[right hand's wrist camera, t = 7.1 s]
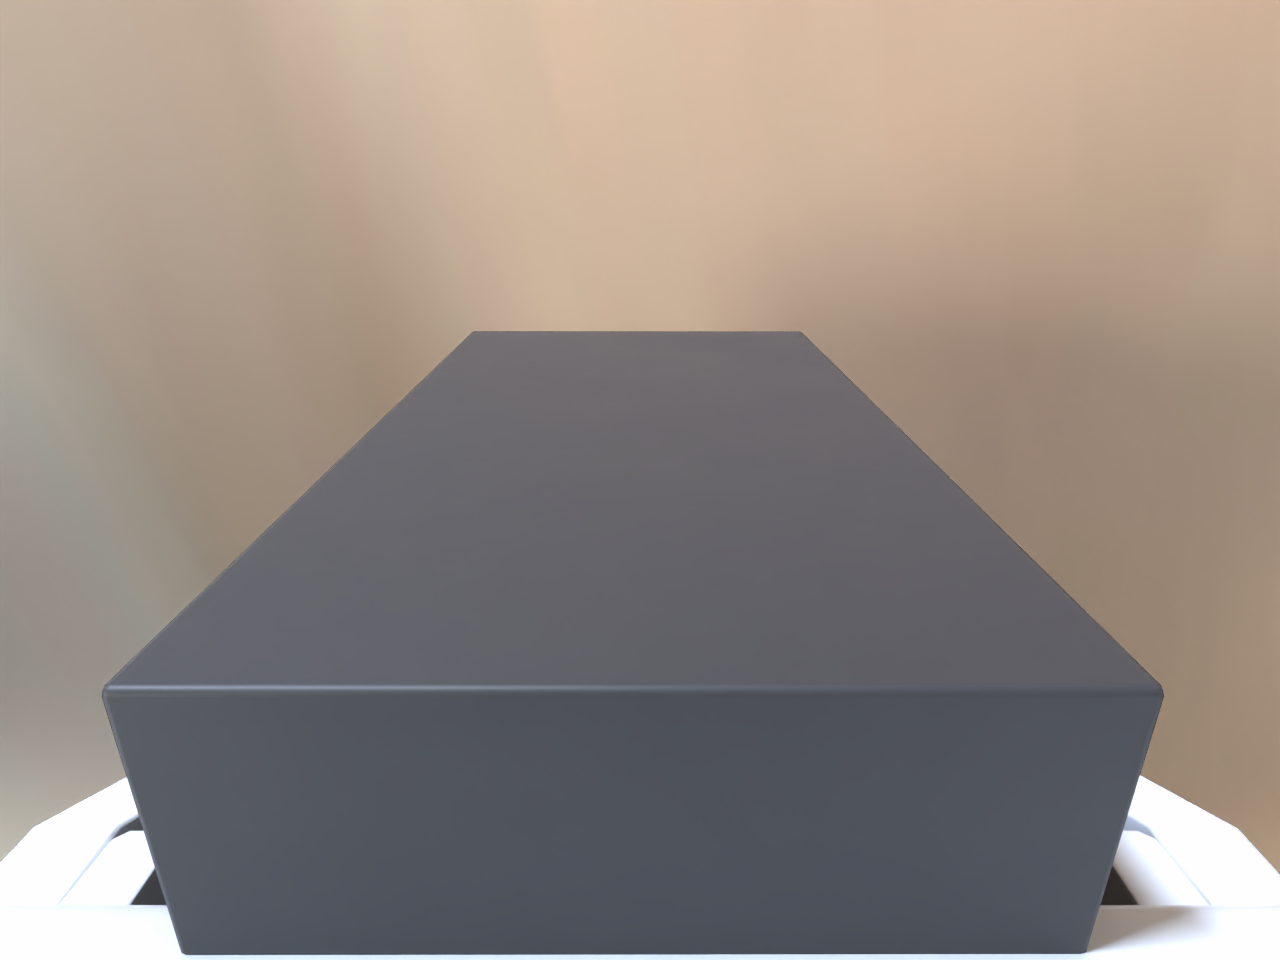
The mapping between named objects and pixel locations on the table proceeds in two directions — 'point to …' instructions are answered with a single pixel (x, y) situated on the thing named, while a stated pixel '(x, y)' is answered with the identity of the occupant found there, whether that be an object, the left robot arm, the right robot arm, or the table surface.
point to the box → (633, 683)
